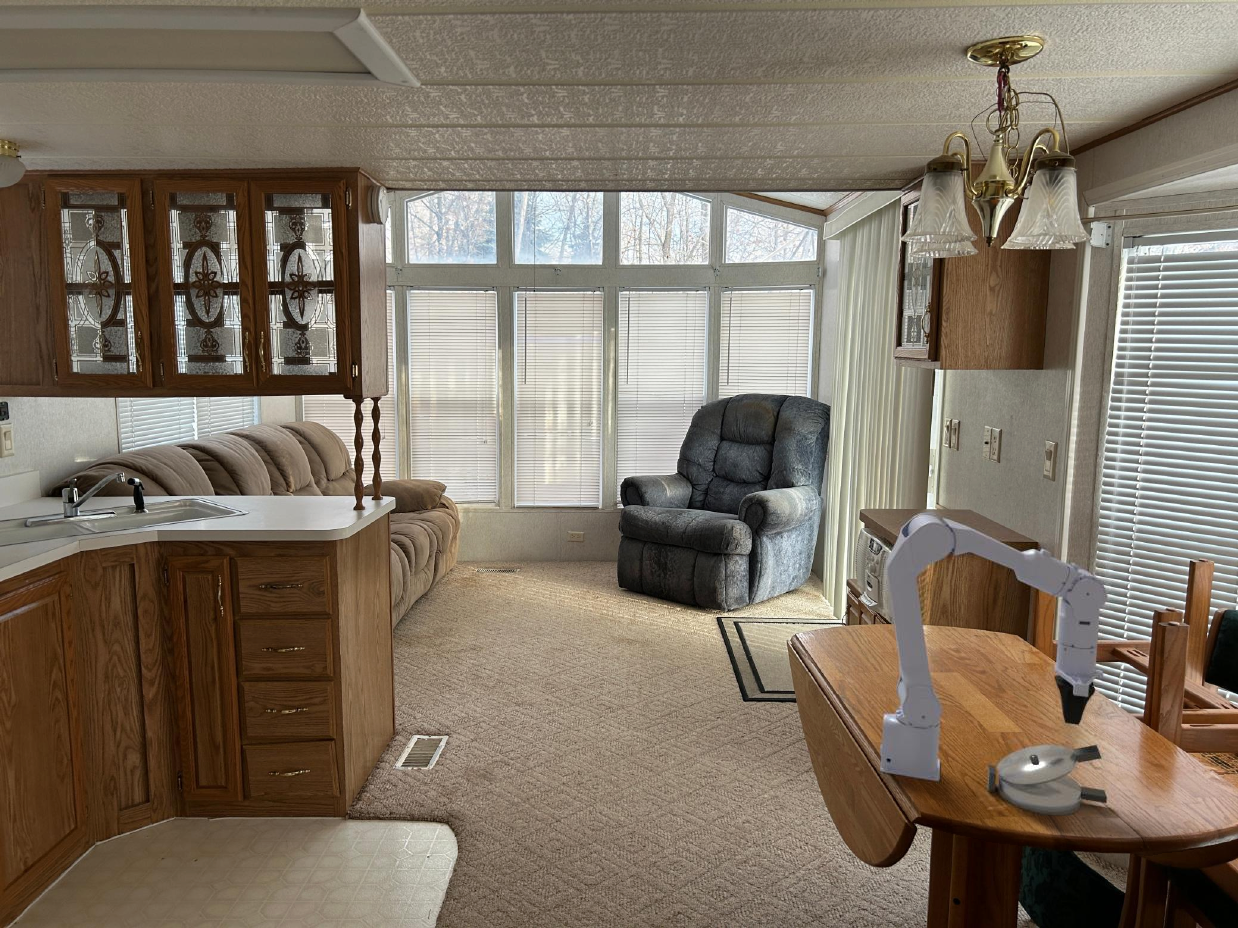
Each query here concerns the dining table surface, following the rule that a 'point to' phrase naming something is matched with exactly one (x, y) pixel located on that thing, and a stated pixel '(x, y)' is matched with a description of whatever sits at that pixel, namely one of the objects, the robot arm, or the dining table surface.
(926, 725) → the robot arm
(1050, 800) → the pot
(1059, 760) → the lid
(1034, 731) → the dining table surface
